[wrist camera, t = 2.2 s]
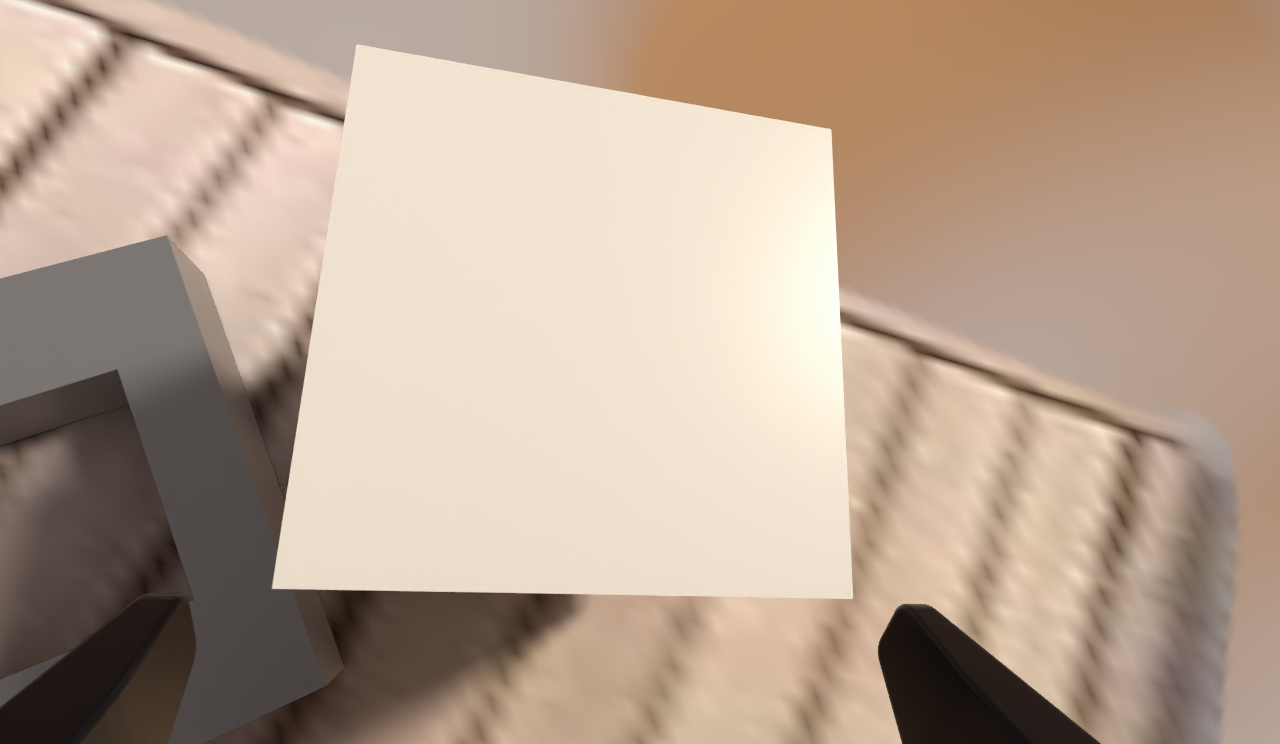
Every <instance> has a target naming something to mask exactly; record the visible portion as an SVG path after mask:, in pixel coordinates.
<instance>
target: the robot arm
mask: <svg viewBox="0 0 1280 744" xmlns="http://www.w3.org/2000/svg"><path fill="white" fill-rule="evenodd" d="M195 654H196V636H195V631H194V625H193V620H192V615H191V609H190V604H189V601H188V598H187V597H186V596H185V595H184V594H180V593H147V594H144V595H142V596H140V597H138V598H137V599H135V600H134V601H133V602H132V603H130V604H129V605H128V606H127V607H125V608H124V609H123V610H121V611H120V612H119V613H118V614H116V615H115V616H114V617H113V618H111V619H110V620H109V621H108V622H106V623H105V624H104V625H103V626H101V627H100V628H99V629H98V630H96V631H95V632H94V633H92V634H91V635H90V636H89V637H87V638H86V639H85V640H84V641H82V642H81V643H80V644H79V645H77V646H76V647H75V648H74V649H72V650H71V651H70V652H69V653H67V654H66V655H65V656H63V657H62V658H61V659H60V660H58V661H57V662H56V663H55V664H53V665H52V666H51V667H50V668H48V669H47V670H46V671H45V672H43V673H42V674H41V675H40V676H38V677H37V678H36V679H35V680H33V681H32V682H31V683H29V684H28V685H27V686H26V687H24V688H23V689H22V690H21V691H19V692H18V693H17V694H16V695H14V696H13V697H12V698H11V699H9V700H8V701H7V702H6V703H4V704H3V705H2V706H0V744H168V742H169V739H170V736H171V733H172V730H173V726H174V723H175V720H176V717H177V714H178V711H179V707H180V704H181V701H182V698H183V695H184V692H185V689H186V685H187V682H188V679H189V676H190V673H191V670H192V666H193V663H194V659H195ZM878 657H879V662H880V665H881V669H882V673H883V676H884V680H885V683H886V687H887V691H888V694H889V698H890V701H891V705H892V709H893V712H894V716H895V719H896V723H897V727H898V730H899V734H900V737H901V741H902V744H1101V743H1099V742H1098V741H1097V740H1096V739H1094V738H1093V737H1092V736H1091V735H1090V734H1088V733H1087V732H1086V731H1085V730H1083V729H1082V728H1081V727H1080V726H1078V725H1077V724H1076V723H1075V722H1074V721H1072V720H1071V719H1070V718H1069V717H1067V716H1066V715H1065V714H1064V713H1062V712H1061V711H1060V710H1059V709H1058V708H1056V707H1055V706H1054V705H1053V704H1051V703H1050V702H1049V701H1048V700H1046V699H1045V698H1044V697H1043V696H1042V695H1040V694H1039V693H1038V692H1037V691H1035V690H1034V689H1033V688H1032V687H1030V686H1029V685H1028V684H1027V683H1026V682H1024V681H1023V680H1022V679H1021V678H1019V677H1018V676H1017V675H1016V674H1014V673H1013V672H1012V671H1011V670H1010V669H1008V668H1007V667H1006V666H1005V665H1003V664H1002V663H1001V662H1000V661H998V660H997V659H996V658H995V657H994V656H992V655H991V654H990V653H989V652H987V651H986V650H985V649H984V648H982V647H981V646H980V645H979V644H978V643H976V642H975V641H974V640H973V639H971V638H970V637H969V636H968V635H966V634H965V633H964V632H963V631H962V630H960V629H959V628H958V627H957V626H955V625H954V624H953V623H952V622H950V621H949V620H948V619H947V618H946V617H944V616H943V615H942V614H941V613H939V612H938V611H937V610H936V609H934V608H933V607H931V606H929V605H925V604H902V605H901V606H899V607H898V608H897V609H896V611H895V612H894V614H893V616H892V618H891V620H890V622H889V624H888V626H887V627H886V629H885V631H884V633H883V635H882V637H881V639H880V641H879V645H878Z"/></svg>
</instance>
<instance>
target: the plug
mask: <svg viewBox="0 0 1280 744" xmlns="http://www.w3.org/2000/svg"><path fill="white" fill-rule="evenodd" d="M832 160H833V159H832V137H831V129H826V128H821V127H814V126H808V125H804V124H797V123H792V122H787V121H781V120H775V119H770V118H765V117H759V116H753V115H748V114H742V113H737V112H731V111H726V110H720V109H714V108H709V107H703V106H698V105H692V104H686V103H681V102H675V101H670V100H664V99H658V98H653V97H647V96H642V95H636V94H631V93H625V92H619V91H614V90H608V89H603V88H597V87H591V86H585V85H580V84H575V83H569V82H564V81H558V80H553V79H547V78H541V77H536V76H530V75H525V74H519V73H513V72H508V71H502V70H497V69H491V68H485V67H480V66H474V65H469V64H463V63H458V62H452V61H446V60H441V59H435V58H430V57H424V56H418V55H413V54H407V53H402V52H396V51H390V50H385V49H380V48H374V47H368V46H363V45H356V52H355V58H354V65H353V71H352V77H351V83H350V90H349V96H348V103H347V109H346V116H345V122H344V128H343V135H342V141H341V148H340V154H339V160H338V167H337V173H336V180H335V186H334V193H333V199H332V205H331V212H330V218H329V225H328V231H327V237H326V244H325V250H324V257H323V263H322V270H321V276H320V282H319V289H318V295H317V302H316V308H315V314H314V321H313V327H312V334H311V340H310V347H309V353H308V359H307V366H306V372H305V379H304V385H303V391H302V398H301V404H300V411H299V417H298V424H297V430H296V436H295V443H294V449H293V456H292V462H291V468H290V475H289V481H288V488H287V494H286V501H285V507H284V513H283V520H282V526H281V533H280V539H279V545H278V552H277V558H276V565H275V571H274V578H273V584H272V589H314V590H372V591H430V592H489V593H547V594H606V595H664V596H722V597H781V598H839V599H853V587H852V565H851V544H850V522H849V501H848V480H847V458H846V437H845V416H844V394H843V373H842V351H841V330H840V309H839V287H838V266H837V245H836V223H835V203H834V182H833V181H834V180H833V161H832Z"/></svg>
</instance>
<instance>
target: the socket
mask: <svg viewBox="0 0 1280 744" xmlns="http://www.w3.org/2000/svg"><path fill="white" fill-rule="evenodd" d="M128 404H129V406H130V409H131V412H132V415H133V418H134V421H135V424H136V427H137V430H138V433H139V436H140V439H141V442H142V445H143V448H144V451H145V454H146V457H147V460H148V463H149V466H150V469H151V472H152V475H153V478H154V481H155V484H156V487H157V490H158V493H159V496H160V499H161V502H162V505H163V508H164V511H165V514H166V517H167V520H168V523H169V526H170V529H171V532H172V535H173V538H174V541H175V544H176V547H177V550H178V553H179V556H180V559H181V562H182V565H183V568H184V571H185V574H186V577H187V580H188V583H189V586H190V589H191V592H192V595H193V598H194V600H192V601H190V602H189V604H190V609H191V615H192V620H193V625H194V631H195V636H196V654H195V659H194V663H193V666H192V670H191V673H190V676H189V679H188V682H187V685H186V689H185V692H184V695H183V698H182V701H181V704H180V707H179V711H178V714H177V717H176V720H175V723H174V726H173V730H172V733H171V736H170V739H169V742H168V744H204V743H207V742H209V741H211V740H213V739H215V738H217V737H219V736H221V735H223V734H226V733H228V732H230V731H232V730H234V729H236V728H238V727H240V726H243V725H245V724H247V723H249V722H251V721H253V720H255V719H257V718H259V717H262V716H264V715H266V714H268V713H270V712H272V711H274V710H276V709H278V708H281V707H283V706H285V705H287V704H289V703H291V702H293V701H295V700H298V699H300V698H302V697H304V696H306V695H308V694H310V693H312V692H314V691H317V690H319V689H321V688H323V687H325V686H326V685H327V684H329V683H330V682H331V681H332V680H333V679H334V678H335V677H336V676H337V675H338V674H339V673H340V672H341V671H342V670H343V669H344V668H345V667H344V665H343V662H342V659H341V656H340V653H339V651H338V648H337V645H336V642H335V639H334V637H333V634H332V631H331V628H330V625H329V623H328V620H327V617H326V614H325V611H324V609H323V606H322V603H321V600H320V597H319V595H318V592H317V590H314V589H272V584H273V578H274V571H275V565H276V558H277V552H278V545H279V539H280V533H281V526H282V520H283V513H284V507H285V499H284V497H283V494H282V491H281V488H280V485H279V483H278V480H277V477H276V474H275V471H274V469H273V466H272V463H271V460H270V457H269V455H268V452H267V449H266V446H265V443H264V441H263V438H262V435H261V432H260V429H259V427H258V424H257V421H256V418H255V415H254V413H253V410H252V407H251V404H250V401H249V399H248V396H247V393H246V390H245V387H244V385H243V382H242V379H241V376H240V373H239V371H238V368H237V365H236V362H235V360H234V357H233V354H232V351H231V348H230V346H229V343H228V340H227V337H226V334H225V332H224V329H223V326H222V323H221V320H220V318H219V315H218V312H217V309H216V306H215V304H214V301H213V298H212V295H211V292H210V290H209V287H208V284H207V281H206V278H205V276H204V274H203V273H202V272H201V271H200V270H199V269H198V268H197V267H196V266H195V265H194V263H193V262H192V261H191V260H190V259H189V258H188V257H187V256H186V255H185V254H184V253H183V252H182V251H181V250H180V249H179V248H178V247H177V245H176V244H175V243H174V242H173V241H172V240H171V239H170V238H169V237H168V236H167V235H166V236H163V237H159V238H155V239H151V240H147V241H143V242H139V243H136V244H132V245H128V246H124V247H120V248H116V249H113V250H109V251H105V252H101V253H97V254H93V255H90V256H86V257H82V258H78V259H74V260H70V261H66V262H63V263H59V264H55V265H51V266H47V267H43V268H40V269H36V270H32V271H28V272H24V273H20V274H17V275H13V276H9V277H5V278H1V279H0V446H1V445H5V444H8V443H11V442H14V441H17V440H20V439H23V438H26V437H29V436H32V435H35V434H39V433H42V432H45V431H48V430H51V429H54V428H57V427H60V426H63V425H66V424H69V423H73V422H76V421H79V420H82V419H85V418H88V417H91V416H94V415H97V414H100V413H103V412H107V411H110V410H113V409H116V408H119V407H122V406H125V405H128ZM69 652H70V651H68V652H66V653H64V654H61V655H59V656H56V657H54V658H51V659H49V660H47V661H44V662H42V663H39V664H37V665H34V666H32V667H30V668H27V669H25V670H22V671H20V672H17V673H15V674H13V675H10V676H8V677H5V678H3V679H0V706H2V705H3V704H4V703H6V702H7V701H8V700H9V699H11V698H12V697H13V696H14V695H16V694H17V693H18V692H19V691H21V690H22V689H23V688H24V687H26V686H27V685H28V684H29V683H31V682H32V681H33V680H35V679H36V678H37V677H38V676H40V675H41V674H42V673H43V672H45V671H46V670H47V669H48V668H50V667H51V666H52V665H53V664H55V663H56V662H57V661H58V660H60V659H61V658H62V657H63V656H65V655H66V654H67V653H69Z"/></svg>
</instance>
